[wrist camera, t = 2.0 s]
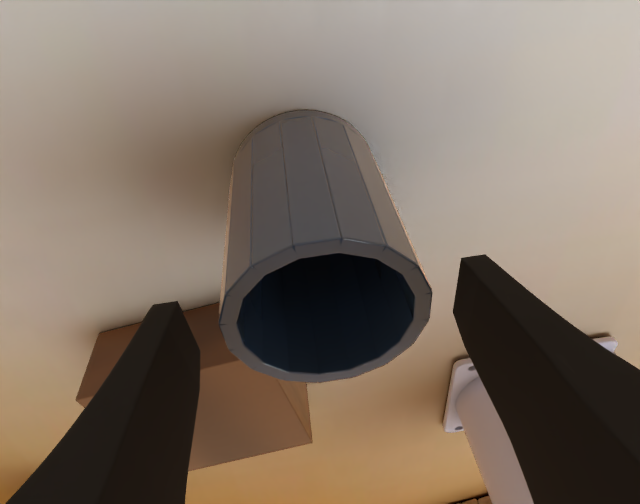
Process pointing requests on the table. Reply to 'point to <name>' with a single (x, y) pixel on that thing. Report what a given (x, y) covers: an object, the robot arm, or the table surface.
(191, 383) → the robot arm
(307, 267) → the cup
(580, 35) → the table surface
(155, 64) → the table surface
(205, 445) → the block
